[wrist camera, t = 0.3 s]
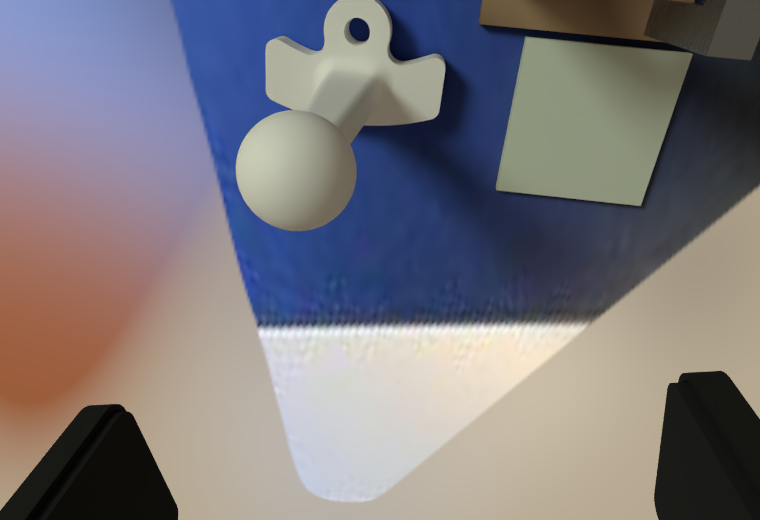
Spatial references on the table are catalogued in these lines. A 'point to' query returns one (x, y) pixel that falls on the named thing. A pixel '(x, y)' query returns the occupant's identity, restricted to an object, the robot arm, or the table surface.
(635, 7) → the stand
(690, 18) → the grey u-shaped block
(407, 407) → the table surface
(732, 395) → the robot arm
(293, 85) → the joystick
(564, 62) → the mat
